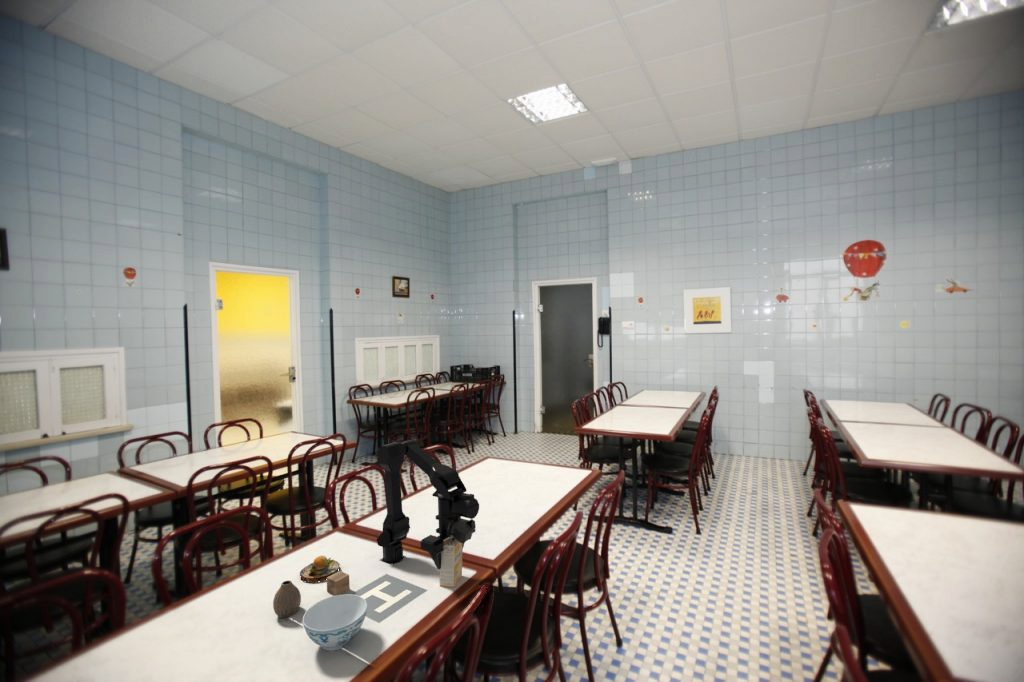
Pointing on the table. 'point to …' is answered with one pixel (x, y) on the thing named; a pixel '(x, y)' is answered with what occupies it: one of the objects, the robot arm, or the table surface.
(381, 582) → the letter board
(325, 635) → the chinaware
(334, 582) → the walnut block
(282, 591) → the vase
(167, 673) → the table surface
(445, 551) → the supplement box
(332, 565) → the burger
